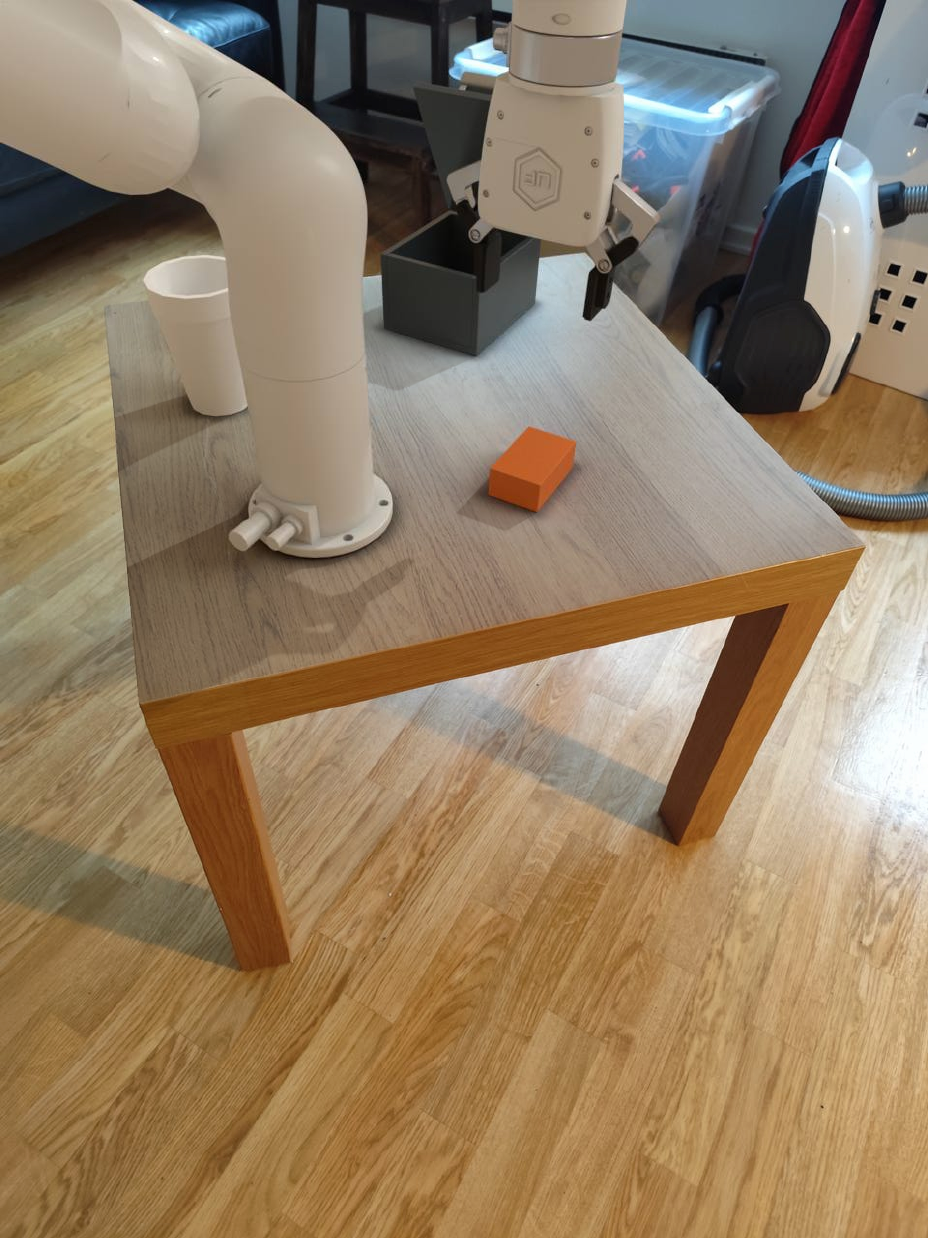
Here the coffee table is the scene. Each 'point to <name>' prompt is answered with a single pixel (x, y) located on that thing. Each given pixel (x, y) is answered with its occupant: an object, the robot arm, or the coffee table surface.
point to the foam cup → (199, 330)
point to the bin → (455, 286)
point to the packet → (532, 468)
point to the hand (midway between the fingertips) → (539, 300)
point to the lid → (456, 124)
